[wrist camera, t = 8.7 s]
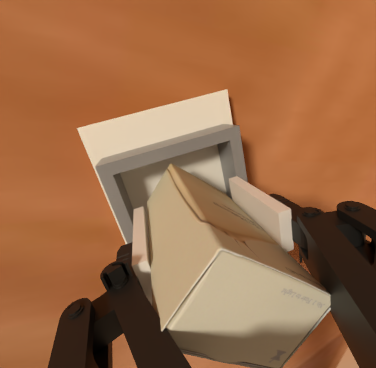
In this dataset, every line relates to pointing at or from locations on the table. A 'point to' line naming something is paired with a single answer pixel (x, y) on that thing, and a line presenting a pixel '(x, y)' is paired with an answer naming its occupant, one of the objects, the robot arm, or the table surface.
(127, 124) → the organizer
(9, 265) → the table surface
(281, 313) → the skincare box
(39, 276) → the table surface
